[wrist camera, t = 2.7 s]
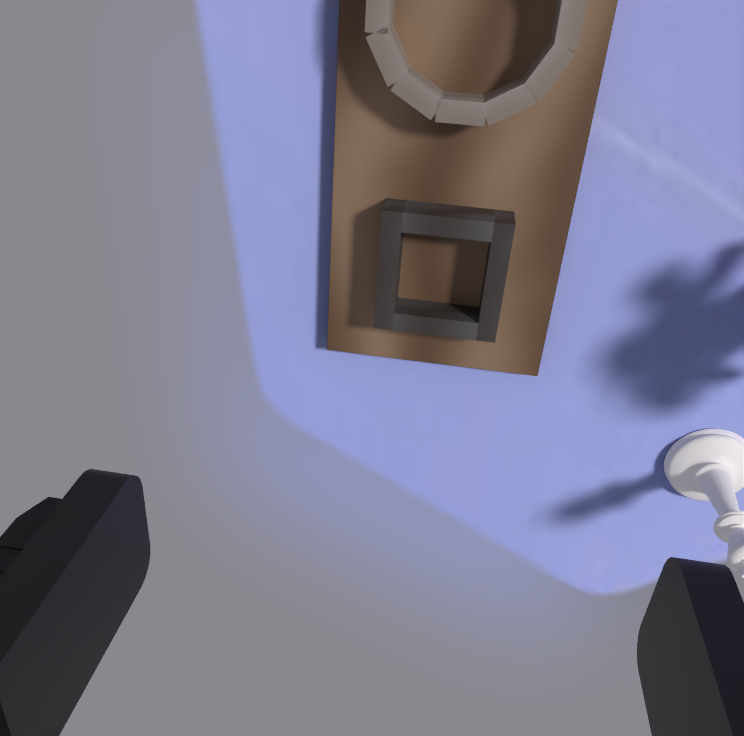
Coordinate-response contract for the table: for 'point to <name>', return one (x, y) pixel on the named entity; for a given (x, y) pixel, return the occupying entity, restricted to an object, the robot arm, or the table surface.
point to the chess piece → (713, 481)
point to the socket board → (458, 173)
